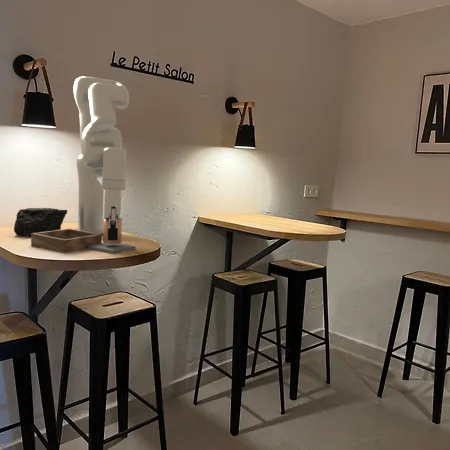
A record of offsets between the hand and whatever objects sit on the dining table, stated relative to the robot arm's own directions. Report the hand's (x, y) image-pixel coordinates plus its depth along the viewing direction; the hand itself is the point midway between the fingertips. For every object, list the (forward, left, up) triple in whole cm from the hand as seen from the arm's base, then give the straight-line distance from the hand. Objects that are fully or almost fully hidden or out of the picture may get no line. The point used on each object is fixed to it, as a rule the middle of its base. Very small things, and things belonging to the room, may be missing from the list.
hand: (112, 237), depth 152 cm
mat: (0, 0, -4) cm, 4 cm away
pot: (0, 0, -1) cm, 1 cm away
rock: (-1, -37, -4) cm, 37 cm away
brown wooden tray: (+7, -14, -4) cm, 16 cm away
